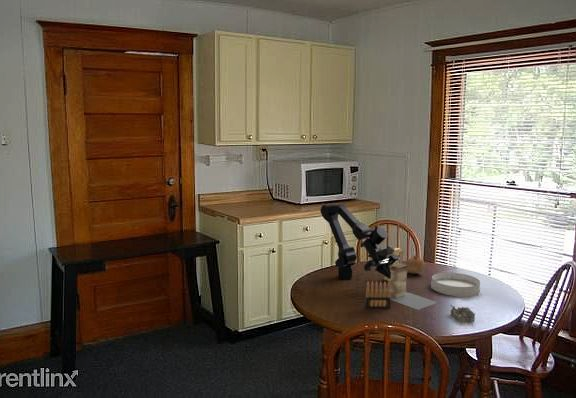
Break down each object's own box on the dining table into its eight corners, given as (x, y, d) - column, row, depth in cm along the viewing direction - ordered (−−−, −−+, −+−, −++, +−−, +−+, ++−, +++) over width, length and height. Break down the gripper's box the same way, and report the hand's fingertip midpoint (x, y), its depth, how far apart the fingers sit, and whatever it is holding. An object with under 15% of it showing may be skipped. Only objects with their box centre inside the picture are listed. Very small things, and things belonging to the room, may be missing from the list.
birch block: (389, 295, 237) (391, 265, 235) (398, 292, 241) (400, 263, 239) (397, 298, 234) (398, 267, 232) (405, 295, 238) (407, 265, 235)
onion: (426, 277, 266) (427, 257, 264) (407, 276, 266) (408, 257, 264) (421, 271, 275) (422, 252, 274) (403, 271, 275) (404, 252, 274)
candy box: (395, 277, 265) (396, 247, 263) (402, 279, 262) (403, 249, 260) (383, 280, 260) (385, 250, 257) (390, 282, 257) (391, 252, 254)
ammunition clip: (389, 307, 224) (390, 280, 222) (390, 309, 222) (391, 281, 220) (364, 307, 224) (365, 280, 222) (365, 308, 222) (366, 281, 220)
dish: (482, 286, 254) (482, 276, 253) (477, 300, 234) (478, 289, 233) (435, 279, 263) (435, 270, 262) (426, 293, 243) (427, 282, 242)
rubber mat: (371, 293, 240) (371, 292, 240) (391, 287, 249) (391, 286, 249) (418, 310, 220) (418, 309, 220) (438, 303, 229) (438, 302, 229)
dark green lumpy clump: (448, 313, 218) (449, 304, 218) (466, 313, 219) (466, 304, 218) (458, 323, 208) (458, 313, 207) (476, 323, 208) (477, 313, 208)
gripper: (369, 243, 235) (387, 273, 229) (396, 237, 247) (414, 265, 240) (356, 256, 243) (373, 285, 236) (383, 250, 254) (400, 278, 247)
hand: (390, 278), depth 240 cm, fingers closed
